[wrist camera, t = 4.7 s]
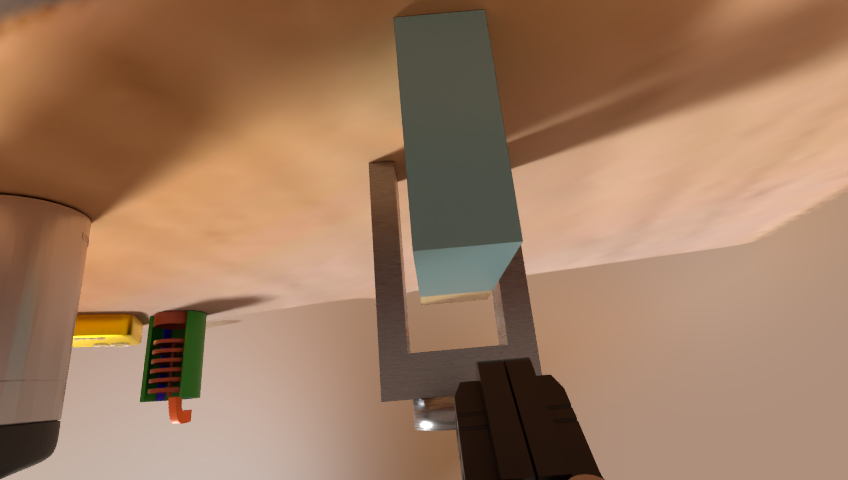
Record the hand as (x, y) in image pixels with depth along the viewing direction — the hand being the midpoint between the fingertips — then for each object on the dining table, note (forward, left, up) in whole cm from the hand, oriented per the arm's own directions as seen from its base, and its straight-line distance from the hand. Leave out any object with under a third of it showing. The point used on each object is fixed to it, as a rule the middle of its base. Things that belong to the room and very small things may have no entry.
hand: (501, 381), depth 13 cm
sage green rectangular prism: (+7, -8, -17) cm, 20 cm away
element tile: (-4, -98, -18) cm, 100 cm away
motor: (+9, -88, -18) cm, 90 cm away
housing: (+13, -16, -17) cm, 27 cm away
